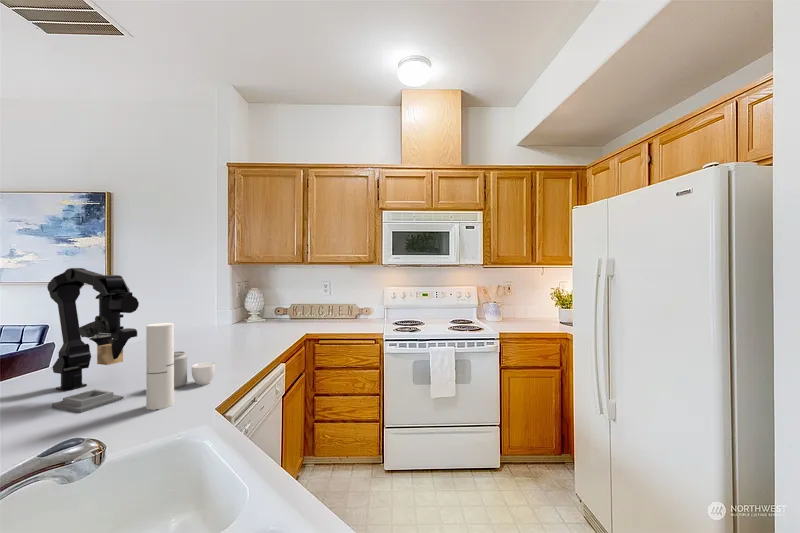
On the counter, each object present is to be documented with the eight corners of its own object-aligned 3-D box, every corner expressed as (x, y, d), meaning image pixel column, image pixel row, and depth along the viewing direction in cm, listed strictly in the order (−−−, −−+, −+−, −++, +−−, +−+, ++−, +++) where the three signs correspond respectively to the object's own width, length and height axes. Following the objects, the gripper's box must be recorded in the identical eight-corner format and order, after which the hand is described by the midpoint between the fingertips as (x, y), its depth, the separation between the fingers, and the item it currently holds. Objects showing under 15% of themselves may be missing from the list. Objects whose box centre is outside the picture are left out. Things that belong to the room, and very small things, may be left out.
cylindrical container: (179, 403, 117) (179, 323, 117) (158, 411, 110) (157, 326, 110) (162, 400, 119) (162, 322, 119) (140, 408, 112) (140, 325, 113)
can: (176, 389, 130) (176, 355, 130) (157, 388, 132) (157, 354, 132) (192, 383, 138) (192, 350, 138) (174, 382, 139) (174, 350, 139)
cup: (199, 387, 132) (199, 368, 132) (184, 383, 137) (184, 365, 138) (219, 382, 139) (219, 364, 139) (204, 378, 144) (204, 360, 144)
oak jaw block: (97, 364, 125) (97, 346, 125) (112, 360, 129) (112, 343, 130) (107, 365, 123) (107, 346, 123) (122, 361, 128) (122, 344, 128)
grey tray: (52, 406, 114) (52, 398, 114) (95, 394, 126) (95, 387, 126) (80, 412, 109) (80, 404, 110) (123, 399, 121) (123, 391, 121)
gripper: (64, 314, 122) (64, 362, 122) (102, 315, 116) (102, 366, 116) (101, 310, 132) (101, 354, 132) (138, 311, 126) (138, 358, 126)
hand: (110, 358), depth 126 cm, fingers closed on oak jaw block, 5 cm apart
